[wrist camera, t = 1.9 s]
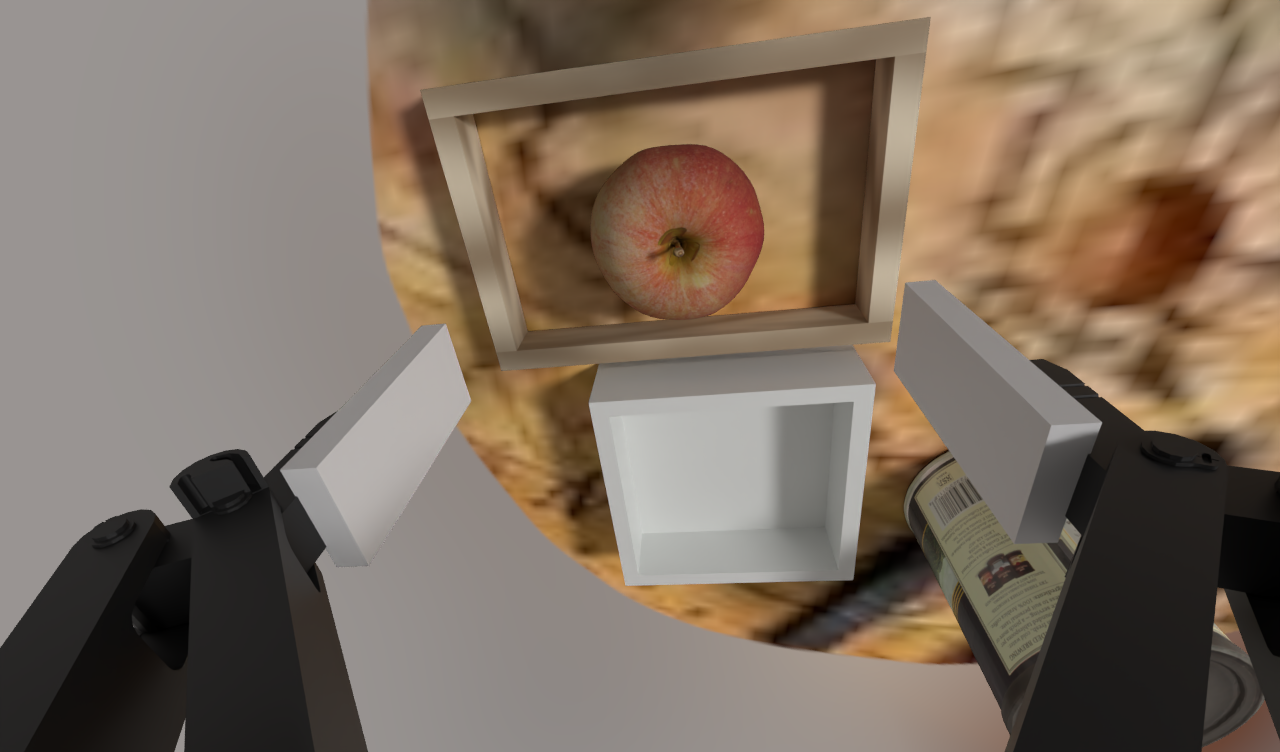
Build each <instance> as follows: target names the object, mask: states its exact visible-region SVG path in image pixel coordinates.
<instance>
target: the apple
mask: <svg viewBox="0 0 1280 752" xmlns="http://www.w3.org/2000/svg"><path fill="white" fill-rule="evenodd" d="M763 241H764V223H763V217H762V213H761V210H760V206H759V202H758V199H757V195H756V193H755V190H754V187H753V186H752V184H751V182H750V180H749V179H748V177H747V176H746V175H745V173H744V172H743V171H742V170H741V168H740V167H739V166H738V165H737V164H736V163H734V162H733V161H732V160H731V159H730V158H729V157H727V156H726V155H724V154H723V153H721V152H719V151H717V150H715V149H713V148H710V147H707V146H703V145H692V144H686V145H668V146H660V147H653V148H648V149H644V150H642V151H640V152H637V153H636V154H634V155H633V156H631V157H630V158H629V159H627V160H626V161H625V162H624V163H623V164H622V165H621V166H620V167H619V168H618V169H617V170H616V171H615V172H614V173H613V174H612V175H611V176H610V177H609V178H608V180H607V181H606V182H605V183H604V185H603V186H602V188H601V189H600V191H599V193H598V195H597V197H596V200H595V203H594V206H593V210H592V215H591V243H592V248H593V252H594V257H595V260H596V262H597V265H598V267H599V269H600V270H601V272H602V274H603V276H604V277H605V279H606V281H607V282H608V284H609V285H610V287H611V288H612V290H613V291H614V292H615V293H616V294H617V295H618V296H619V297H620V298H621V299H622V300H623V301H624V302H626V303H627V304H628V305H630V306H631V307H633V308H634V309H636V310H638V311H639V312H641V313H643V314H645V315H648V316H650V317H655V318H659V319H669V320H690V319H696V318H701V317H705V316H708V315H711V314H713V313H715V312H717V311H718V310H720V309H721V308H723V307H724V306H725V305H727V304H728V303H729V302H730V301H731V300H732V299H733V298H735V296H736V295H737V294H738V293H739V292H740V290H741V289H742V288H743V286H744V285H745V283H746V281H747V280H748V278H749V276H750V274H751V272H752V270H753V268H754V266H755V264H756V262H757V259H758V257H759V254H760V252H761V249H762V245H763Z"/></svg>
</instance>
